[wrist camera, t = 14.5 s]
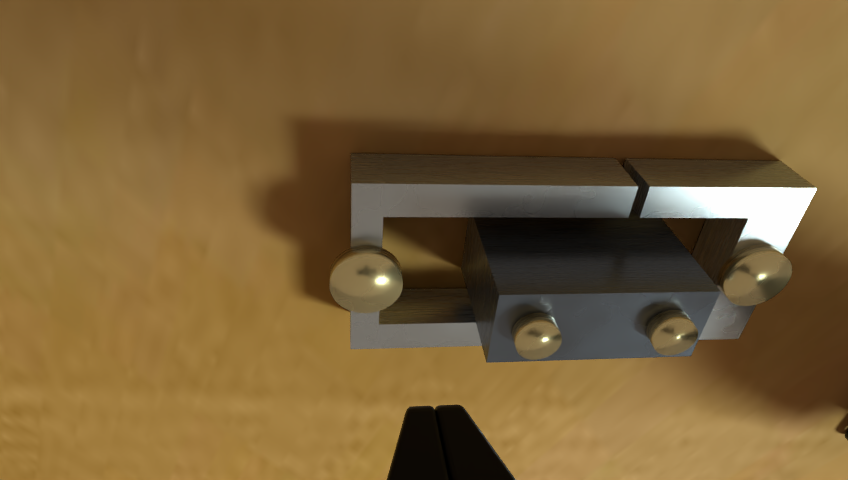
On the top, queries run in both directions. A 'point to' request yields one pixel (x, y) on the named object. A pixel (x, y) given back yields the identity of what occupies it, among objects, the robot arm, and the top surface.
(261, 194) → the top surface
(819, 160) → the top surface
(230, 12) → the top surface
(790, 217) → the end link
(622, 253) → the block with brass studs
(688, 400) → the top surface
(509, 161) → the end link
